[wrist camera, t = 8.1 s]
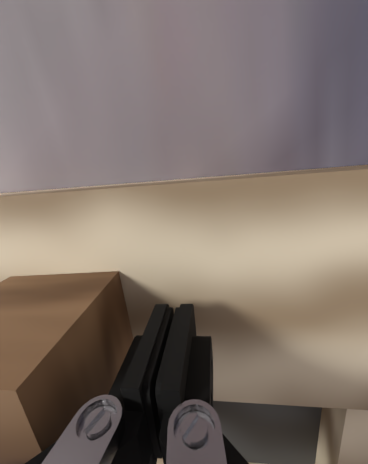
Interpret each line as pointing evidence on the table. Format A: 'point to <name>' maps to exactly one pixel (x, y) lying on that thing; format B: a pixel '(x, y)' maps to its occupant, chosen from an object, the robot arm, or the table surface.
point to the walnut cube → (56, 354)
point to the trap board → (233, 289)
